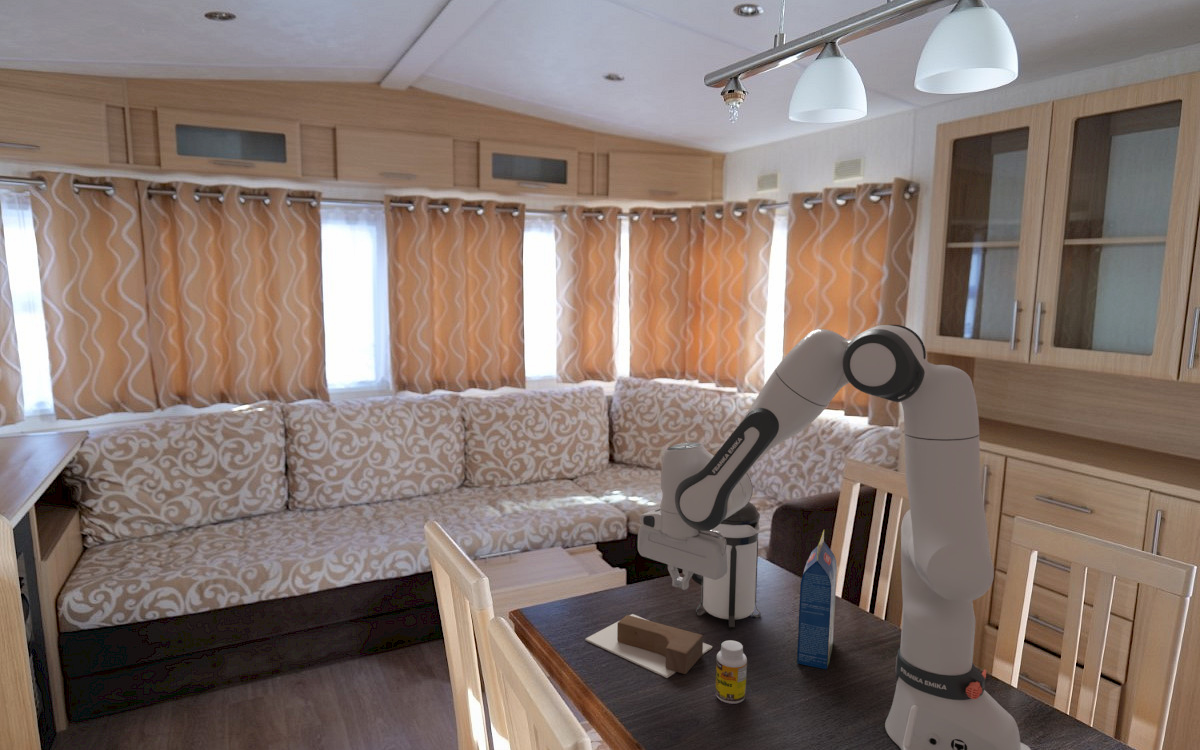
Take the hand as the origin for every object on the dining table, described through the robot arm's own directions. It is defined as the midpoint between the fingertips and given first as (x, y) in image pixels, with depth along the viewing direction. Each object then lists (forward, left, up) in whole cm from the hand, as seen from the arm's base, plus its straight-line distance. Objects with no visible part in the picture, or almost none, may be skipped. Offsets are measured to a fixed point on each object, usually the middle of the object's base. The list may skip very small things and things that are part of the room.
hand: (680, 587), depth 146 cm
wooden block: (-5, +1, -12) cm, 13 cm away
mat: (+8, 0, -15) cm, 17 cm away
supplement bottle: (-15, +5, -15) cm, 22 cm away
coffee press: (+4, -23, -15) cm, 28 cm away
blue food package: (-20, -21, -15) cm, 33 cm away
